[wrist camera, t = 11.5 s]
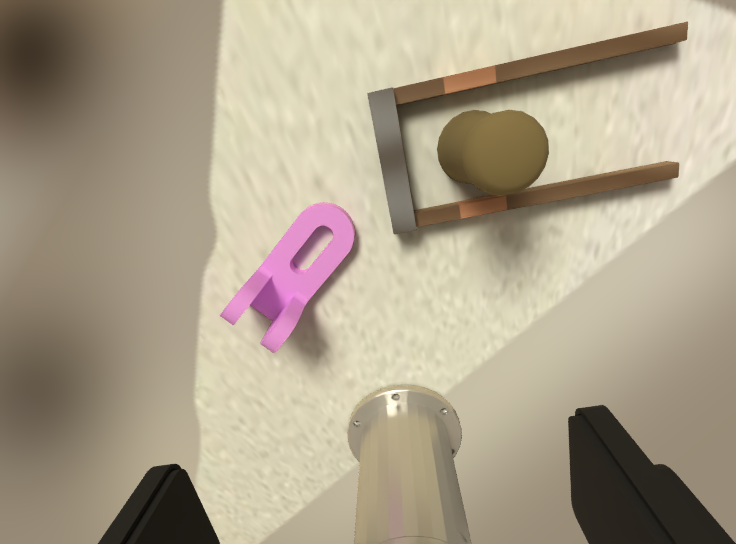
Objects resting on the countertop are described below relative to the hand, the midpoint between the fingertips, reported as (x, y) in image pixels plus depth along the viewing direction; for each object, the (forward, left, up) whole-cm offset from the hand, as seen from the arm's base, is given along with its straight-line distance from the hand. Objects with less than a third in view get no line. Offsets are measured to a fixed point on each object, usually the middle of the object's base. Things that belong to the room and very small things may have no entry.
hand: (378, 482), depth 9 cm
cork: (+5, -9, -28) cm, 30 cm away
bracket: (-2, +8, -29) cm, 30 cm away
